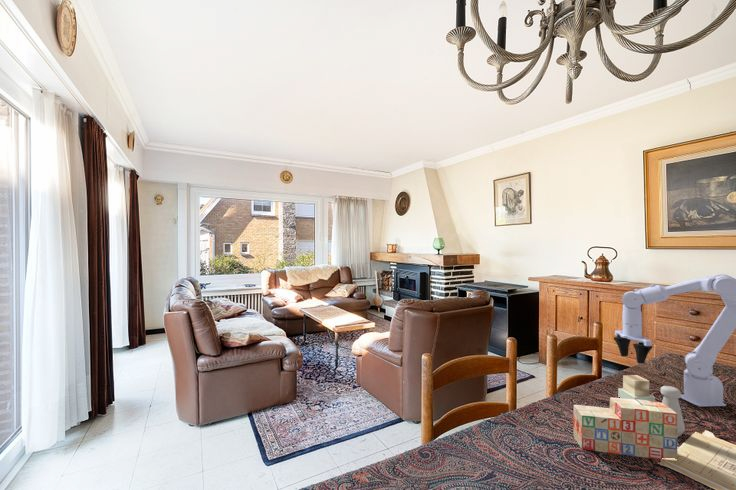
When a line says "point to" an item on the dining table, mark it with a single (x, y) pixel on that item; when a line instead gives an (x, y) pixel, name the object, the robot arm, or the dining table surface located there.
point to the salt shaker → (673, 404)
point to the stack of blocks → (628, 428)
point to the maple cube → (636, 385)
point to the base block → (626, 395)
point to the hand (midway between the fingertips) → (632, 359)
